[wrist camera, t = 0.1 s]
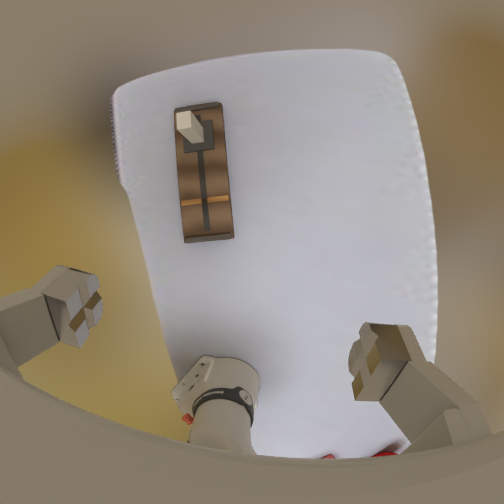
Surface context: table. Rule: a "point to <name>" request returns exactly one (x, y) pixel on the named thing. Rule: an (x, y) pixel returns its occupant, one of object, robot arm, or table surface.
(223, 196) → the fader track
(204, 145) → the fader tab
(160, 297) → the table surface
